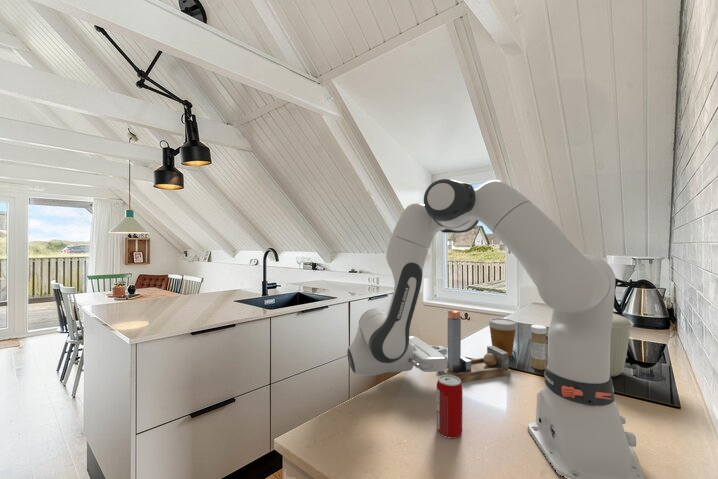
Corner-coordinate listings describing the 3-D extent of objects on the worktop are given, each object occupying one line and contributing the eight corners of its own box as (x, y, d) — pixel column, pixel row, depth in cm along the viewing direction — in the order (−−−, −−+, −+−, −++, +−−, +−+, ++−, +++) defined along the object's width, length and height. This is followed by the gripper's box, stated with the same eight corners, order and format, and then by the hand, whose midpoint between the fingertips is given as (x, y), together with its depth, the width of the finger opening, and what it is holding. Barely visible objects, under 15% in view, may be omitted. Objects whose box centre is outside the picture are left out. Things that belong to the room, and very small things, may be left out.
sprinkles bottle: (534, 363, 111) (534, 323, 111) (548, 367, 108) (549, 326, 107) (528, 366, 108) (528, 326, 108) (542, 371, 105) (543, 329, 104)
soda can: (467, 437, 71) (467, 382, 71) (444, 441, 70) (444, 385, 69) (453, 423, 76) (453, 371, 76) (432, 426, 75) (432, 374, 75)
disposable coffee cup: (523, 356, 117) (523, 323, 117) (502, 360, 113) (502, 326, 113) (502, 348, 126) (502, 316, 125) (482, 351, 122) (482, 319, 122)
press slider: (454, 375, 98) (454, 314, 98) (443, 366, 104) (443, 309, 104) (471, 372, 100) (471, 313, 99) (459, 364, 106) (459, 308, 105)
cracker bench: (453, 383, 96) (453, 361, 96) (437, 371, 105) (437, 350, 105) (510, 375, 102) (510, 354, 102) (491, 364, 111) (491, 344, 110)
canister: (589, 383, 96) (589, 311, 96) (550, 359, 114) (551, 298, 114) (649, 382, 97) (650, 310, 96) (602, 358, 115) (602, 298, 114)
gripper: (418, 356, 86) (464, 351, 90) (389, 334, 106) (428, 330, 110) (418, 380, 87) (464, 374, 90) (389, 353, 106) (428, 349, 110)
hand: (444, 350), depth 100 cm, fingers closed
